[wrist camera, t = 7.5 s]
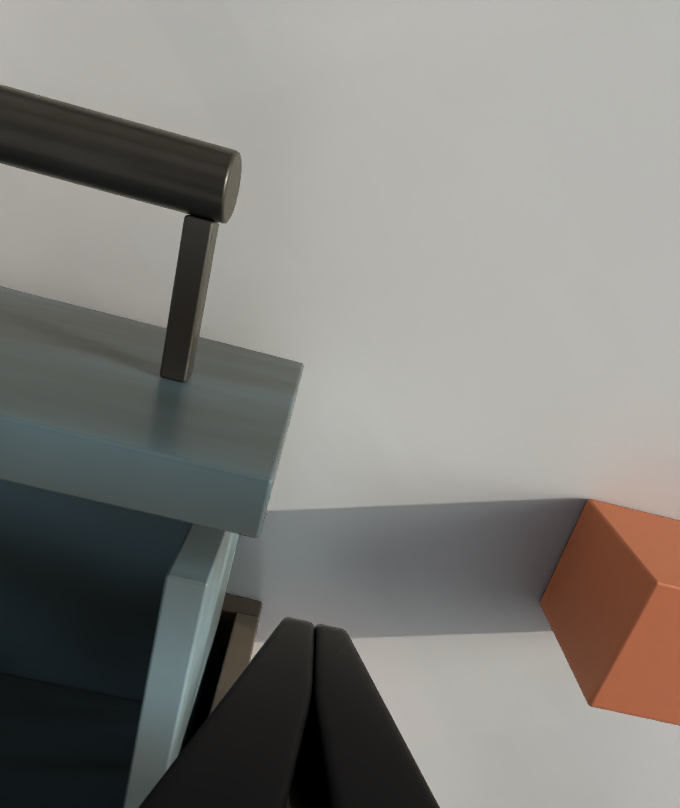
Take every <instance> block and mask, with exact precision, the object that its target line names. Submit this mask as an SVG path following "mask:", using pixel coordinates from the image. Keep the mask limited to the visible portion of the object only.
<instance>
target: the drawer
mask: <svg viewBox="0 0 680 808" xmlns="http://www.w3.org/2000/svg"><path fill="white" fill-rule="evenodd" d="M0 163H1V164H5V165H9V166H13V167H16V168H20V169H24V170H27V171H31V172H35V173H39V174H42V175H46V176H50V177H53V178H57V179H61V180H64V181H68V182H72V183H76V184H79V185H83V186H87V187H90V188H94V189H98V190H102V191H105V192H109V193H113V194H116V195H120V196H124V197H127V198H131V199H135V200H139V201H142V202H146V203H150V204H153V205H157V206H161V207H165V208H168V209H172V210H176V211H179V212H183V213H187V214H190V215H186V216H185V218H184V223H183V230H182V236H181V242H180V249H179V255H178V261H177V268H176V274H175V280H174V286H173V293H172V299H171V305H170V312H169V318H168V324H167V329H166V328H162V327H158V326H154V325H150V324H146V323H142V322H138V321H134V320H130V319H126V318H122V317H118V316H114V315H110V314H106V313H103V312H99V311H95V310H91V309H87V308H83V307H79V306H75V305H71V304H67V303H63V302H59V301H55V300H51V299H47V298H43V297H39V296H36V295H32V294H28V293H24V292H20V291H16V290H12V289H8V288H4V287H0V808H138V807H139V806H140V805H141V803H142V802H143V801H144V800H145V798H146V797H147V796H148V794H149V793H150V792H151V790H152V789H153V788H154V787H155V785H156V784H157V783H158V781H159V780H160V779H161V777H162V776H163V775H164V774H165V772H166V771H167V770H168V768H169V767H170V766H171V764H172V763H173V762H174V761H175V759H176V758H177V757H178V755H179V754H180V753H181V751H182V750H183V749H184V748H185V746H186V745H187V744H188V742H189V740H190V737H191V733H192V730H193V726H194V723H195V720H196V716H197V713H198V709H199V705H200V701H201V697H202V692H203V688H204V684H205V679H206V675H207V671H208V666H209V662H210V658H211V653H212V649H213V645H214V640H215V636H216V632H217V628H218V623H219V619H220V615H221V610H222V606H223V602H224V597H225V593H226V589H227V584H228V580H229V576H230V571H231V567H232V563H233V559H234V554H235V550H236V546H237V541H238V537H239V534H240V535H245V536H249V537H253V538H257V537H258V536H259V535H260V533H261V529H262V525H263V521H264V518H265V514H266V510H267V506H268V502H269V499H270V495H271V491H272V487H273V483H274V480H275V476H276V472H277V468H278V464H279V461H280V457H281V453H282V449H283V445H284V441H285V438H286V434H287V430H288V426H289V422H290V419H291V415H292V411H293V407H294V403H295V400H296V396H297V392H298V388H299V383H300V379H301V375H302V371H303V367H304V365H303V364H302V363H299V362H296V361H292V360H288V359H284V358H280V357H276V356H272V355H268V354H264V353H260V352H256V351H252V350H248V349H244V348H240V347H236V346H232V345H229V344H225V343H221V342H217V341H213V340H209V339H205V338H201V337H199V333H200V327H201V322H202V316H203V310H204V305H205V299H206V294H207V288H208V282H209V277H210V271H211V266H212V260H213V254H214V249H215V243H216V238H217V232H218V226H219V224H218V222H220V223H227V222H228V220H229V219H230V217H231V215H232V213H233V210H234V207H235V204H236V200H237V196H238V191H239V186H240V179H241V156H240V153H239V152H237V151H236V150H232V149H229V148H225V147H222V146H218V145H215V144H211V143H207V142H204V141H200V140H197V139H193V138H190V137H186V136H182V135H179V134H175V133H172V132H168V131H165V130H161V129H157V128H154V127H150V126H147V125H143V124H140V123H136V122H132V121H129V120H125V119H122V118H118V117H115V116H111V115H108V114H104V113H100V112H97V111H93V110H90V109H86V108H83V107H79V106H75V105H72V104H68V103H65V102H61V101H58V100H54V99H50V98H47V97H43V96H40V95H36V94H33V93H29V92H25V91H22V90H18V89H15V88H11V87H8V86H4V85H0Z"/></svg>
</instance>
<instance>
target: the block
mask: <svg viewBox="0 0 680 808" xmlns="http://www.w3.org/2000/svg"><path fill="white" fill-rule="evenodd" d="M540 605H541V607H542V609H543V611H544V613H545V615H546V618H547V620H548V622H549V624H550V626H551V628H552V630H553V632H554V634H555V636H556V638H557V640H558V643H559V645H560V647H561V649H562V651H563V653H564V655H565V657H566V659H567V661H568V663H569V665H570V668H571V670H572V672H573V674H574V676H575V678H576V680H577V682H578V684H579V686H580V688H581V690H582V693H583V695H584V697H585V699H586V701H587V703H588V704H589V705H590V706H592V707H596V708H601V709H606V710H610V711H615V712H620V713H624V714H629V715H633V716H638V717H643V718H647V719H652V720H657V721H661V722H666V723H671V724H675V725H680V521H678V520H674V519H670V518H666V517H662V516H657V515H653V514H649V513H645V512H641V511H637V510H633V509H629V508H625V507H621V506H617V505H613V504H608V503H604V502H600V501H596V500H592V499H588V500H587V502H586V504H585V506H584V508H583V511H582V513H581V515H580V517H579V519H578V521H577V523H576V526H575V528H574V530H573V532H572V534H571V536H570V538H569V541H568V543H567V545H566V547H565V549H564V551H563V554H562V556H561V558H560V560H559V562H558V564H557V566H556V569H555V571H554V573H553V575H552V577H551V579H550V581H549V584H548V586H547V588H546V590H545V592H544V594H543V597H542V599H541V601H540Z"/></svg>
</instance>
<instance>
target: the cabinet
mask: <svg viewBox="0 0 680 808" xmlns="http://www.w3.org/2000/svg"><path fill="white" fill-rule="evenodd" d="M261 608H262V602H260V601H255V600H251V599H246V598H242V597H237V596H232V595H228V594H225V597H224V602H223V606H222V610H221V615H220V619H219V623H218V628H217V632H216V636H215V640H214V645H213V649H212V653H211V658H210V662H209V666H208V671H207V675H206V679H205V684H204V688H203V692H202V697H201V701H200V705H199V709H198V713H197V716H196V720H195V723H194V726H193V730H192V733H191V737H190V740H191V738H192V737H193V736H194V735H195V733H196V732H197V731H198V729H199V728H200V727H201V725H202V724H203V723H204V721H205V720H206V719H207V718H208V716H209V715H210V714H211V712H212V711H213V710H214V708H215V707H216V706H217V705H218V703H219V702H220V701H221V699H222V698H223V697H224V695H225V694H226V693H227V692H228V690H229V689H230V688H231V686H232V685H233V684H234V682H235V681H236V680H237V679H238V677H239V676H240V675H241V673H242V672H243V671H244V669H245V668H246V667H247V666H248V664H249V663H250V660H251V655H252V650H253V646H254V641H255V636H256V631H257V627H258V622H259V617H260V612H261ZM190 740H189V741H190Z"/></svg>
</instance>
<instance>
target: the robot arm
mask: <svg viewBox="0 0 680 808" xmlns="http://www.w3.org/2000/svg"><path fill="white" fill-rule="evenodd" d="M138 808H440V807H439V805H438V804H437V802H436V800H435V798H434V796H433V794H432V792H431V790H430V788H429V786H428V785H427V783H426V781H425V779H424V777H423V775H422V773H421V771H420V769H419V768H418V766H417V764H416V762H415V760H414V758H413V756H412V754H411V752H410V751H409V749H408V747H407V745H406V743H405V741H404V739H403V737H402V735H401V733H400V732H399V730H398V728H397V726H396V724H395V722H394V720H393V718H392V716H391V715H390V713H389V711H388V709H387V707H386V705H385V703H384V701H383V699H382V698H381V696H380V694H379V692H378V690H377V688H376V686H375V684H374V682H373V680H372V679H371V677H370V675H369V673H368V671H367V669H366V667H365V665H364V663H363V662H362V660H361V658H360V656H359V654H358V652H357V650H356V648H355V646H354V644H353V643H352V641H351V639H350V637H349V635H348V633H347V632H346V631H345V630H344V629H341V628H337V627H332V626H328V625H323V624H318V625H317V626H316V627H315V628H314V625H313V623H312V622H309V621H304V620H300V619H295V618H291V617H287V618H284V619H283V620H282V621H281V623H280V624H279V625H278V626H277V628H276V629H275V630H274V632H273V633H272V634H271V636H270V637H269V638H268V639H267V641H266V642H265V643H264V645H263V646H262V647H261V649H260V650H259V651H258V653H257V654H256V655H255V656H254V658H253V659H252V660H251V662H250V663H249V664H248V666H247V667H246V668H245V669H244V671H243V672H242V673H241V675H240V676H239V677H238V679H237V680H236V681H235V682H234V684H233V685H232V686H231V688H230V689H229V690H228V692H227V693H226V694H225V695H224V697H223V698H222V699H221V701H220V702H219V703H218V705H217V706H216V707H215V708H214V710H213V711H212V712H211V714H210V715H209V716H208V718H207V719H206V720H205V721H204V723H203V724H202V725H201V727H200V728H199V729H198V731H197V732H196V733H195V735H194V736H193V737H192V738H191V740H190V741H189V742H188V744H187V745H186V746H185V748H184V749H183V750H182V751H181V753H180V754H179V755H178V757H177V758H176V759H175V761H174V762H173V763H172V764H171V766H170V767H169V768H168V770H167V771H166V772H165V774H164V775H163V776H162V777H161V779H160V780H159V781H158V783H157V784H156V785H155V787H154V788H153V789H152V790H151V792H150V793H149V794H148V796H147V797H146V798H145V800H144V801H143V802H142V803H141V805H140V806H139V807H138Z"/></svg>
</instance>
